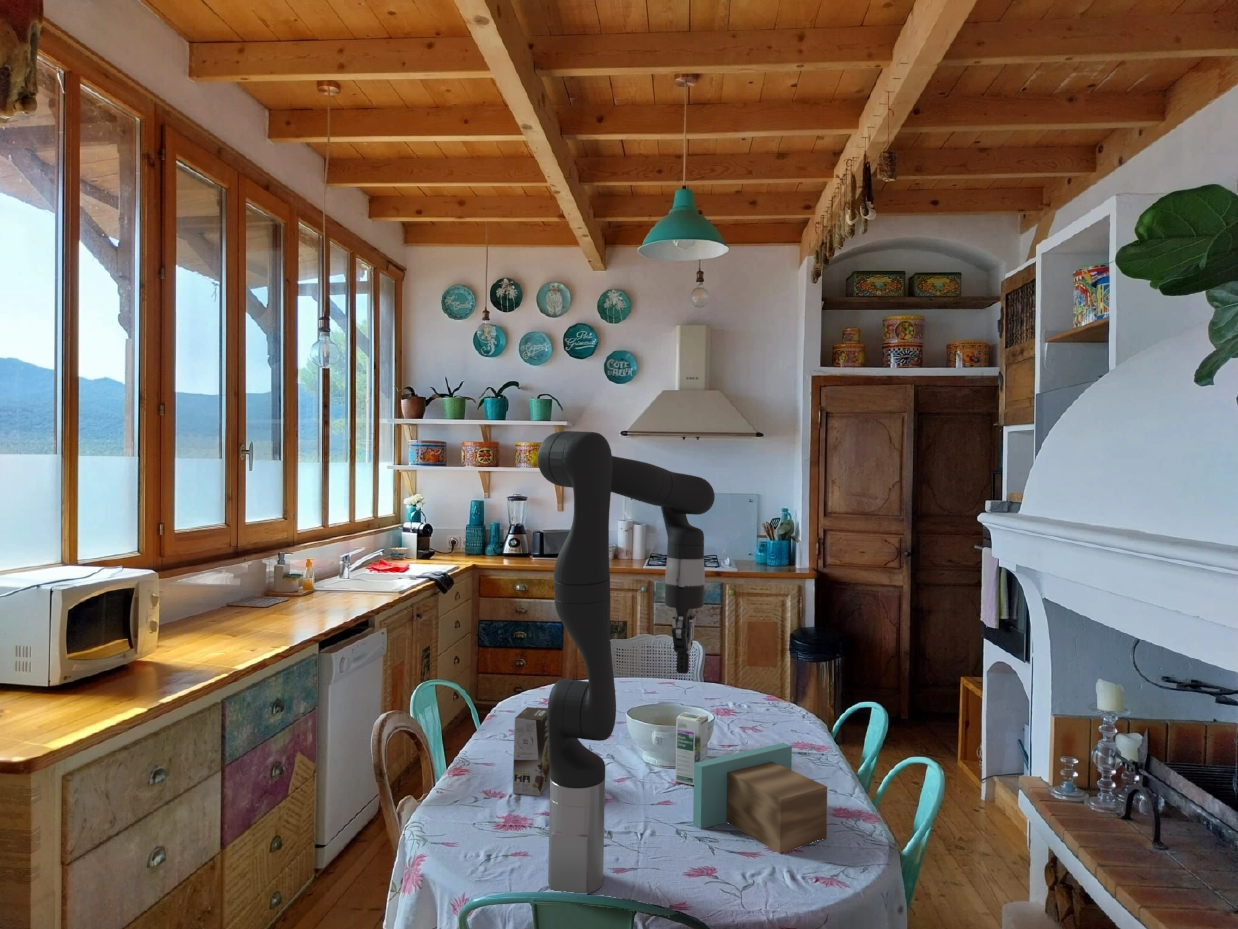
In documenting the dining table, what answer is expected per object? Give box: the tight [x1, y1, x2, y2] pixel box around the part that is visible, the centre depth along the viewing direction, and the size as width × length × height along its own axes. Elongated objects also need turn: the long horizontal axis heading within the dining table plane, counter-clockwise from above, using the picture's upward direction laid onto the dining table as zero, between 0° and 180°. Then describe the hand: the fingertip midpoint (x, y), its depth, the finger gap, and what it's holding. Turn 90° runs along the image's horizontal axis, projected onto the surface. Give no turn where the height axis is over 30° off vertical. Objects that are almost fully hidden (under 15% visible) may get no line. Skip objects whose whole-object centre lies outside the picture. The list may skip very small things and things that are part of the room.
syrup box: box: [674, 711, 709, 786], centre depth 175 cm, size 6×6×14 cm
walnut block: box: [725, 762, 828, 854], centre depth 151 cm, size 15×12×10 cm
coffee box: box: [512, 706, 550, 797], centre depth 169 cm, size 9×6×16 cm
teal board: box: [692, 742, 793, 830], centre depth 158 cm, size 2×24×12 cm, turn 122°
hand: (682, 672), depth 148 cm, fingers closed
